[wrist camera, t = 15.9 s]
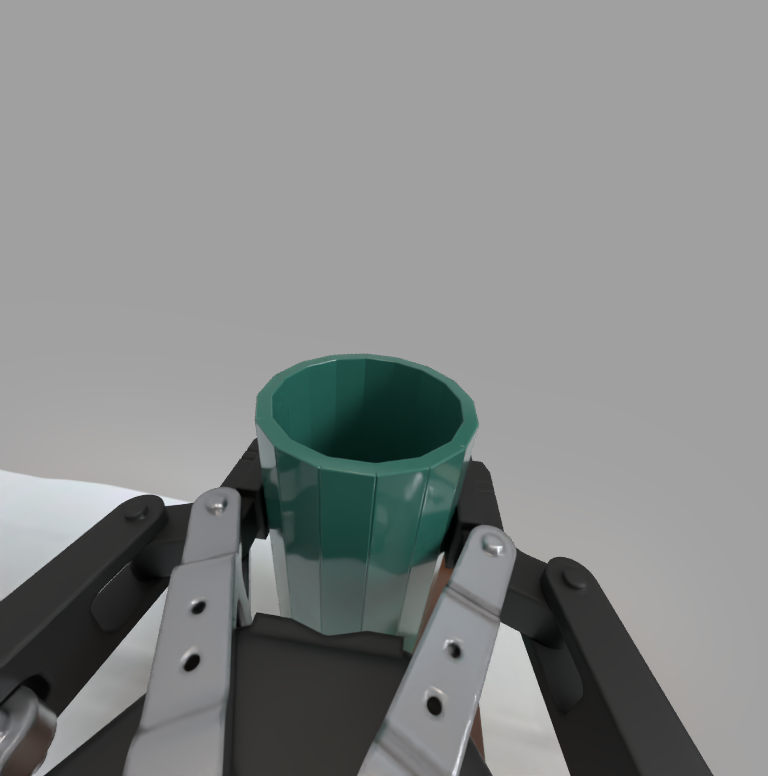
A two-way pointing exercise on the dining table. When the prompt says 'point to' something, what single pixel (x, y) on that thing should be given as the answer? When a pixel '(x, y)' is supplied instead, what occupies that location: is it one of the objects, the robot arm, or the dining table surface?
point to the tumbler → (361, 488)
